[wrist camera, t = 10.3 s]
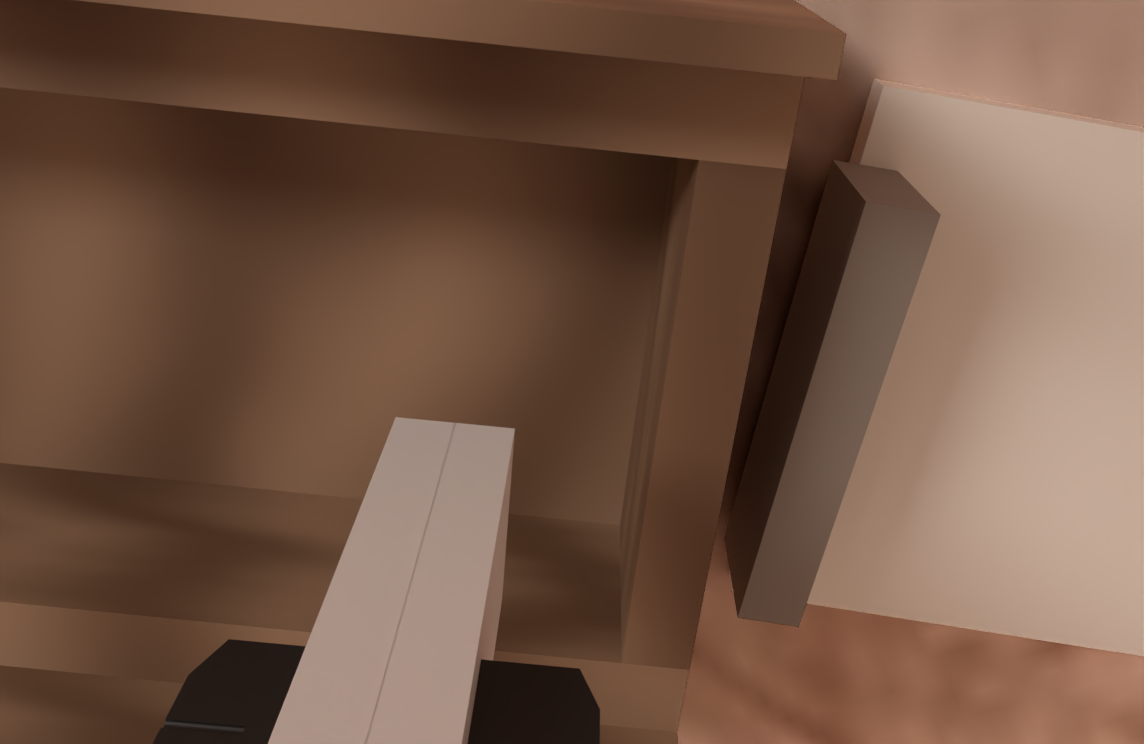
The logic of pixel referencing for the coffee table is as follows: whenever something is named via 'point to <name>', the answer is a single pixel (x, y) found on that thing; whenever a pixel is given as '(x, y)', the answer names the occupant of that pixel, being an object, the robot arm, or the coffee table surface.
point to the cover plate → (960, 382)
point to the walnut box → (372, 318)
